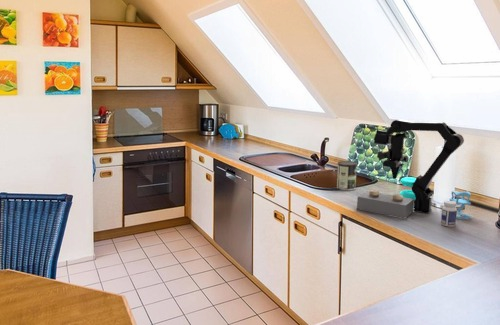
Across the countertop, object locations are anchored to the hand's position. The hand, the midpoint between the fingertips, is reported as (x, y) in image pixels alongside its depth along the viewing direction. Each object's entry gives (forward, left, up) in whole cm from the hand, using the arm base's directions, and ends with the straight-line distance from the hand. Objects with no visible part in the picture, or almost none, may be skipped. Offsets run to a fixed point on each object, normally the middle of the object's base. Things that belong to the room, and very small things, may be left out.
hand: (394, 178), depth 205 cm
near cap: (-6, +10, -12) cm, 17 cm away
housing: (0, +11, -13) cm, 17 cm away
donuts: (-3, -17, -13) cm, 22 cm away
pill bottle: (-28, +13, -13) cm, 34 cm away
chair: (-29, -2, -13) cm, 32 cm away
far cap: (+6, +11, -12) cm, 17 cm away
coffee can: (+31, -15, -13) cm, 37 cm away
